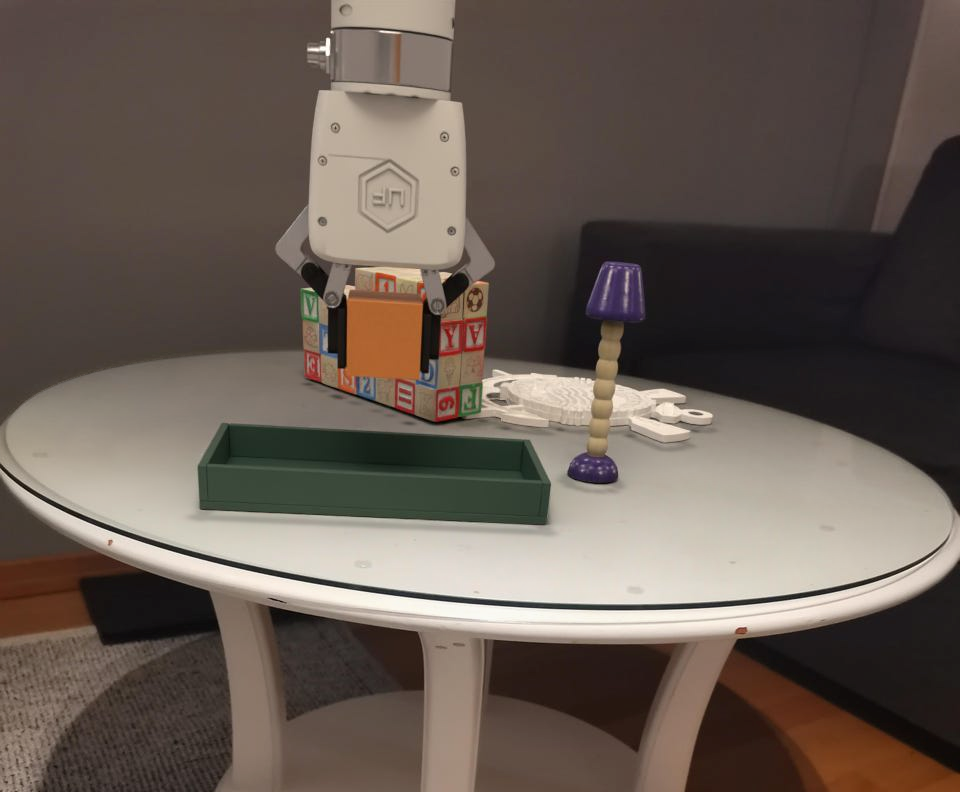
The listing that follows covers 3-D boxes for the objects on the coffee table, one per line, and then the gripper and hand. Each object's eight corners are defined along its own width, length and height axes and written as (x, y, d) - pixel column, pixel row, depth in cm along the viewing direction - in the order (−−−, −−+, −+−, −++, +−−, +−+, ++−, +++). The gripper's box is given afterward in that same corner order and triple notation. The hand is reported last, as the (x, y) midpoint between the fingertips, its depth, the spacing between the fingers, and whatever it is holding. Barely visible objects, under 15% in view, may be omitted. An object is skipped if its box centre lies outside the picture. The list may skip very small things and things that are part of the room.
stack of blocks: (302, 378, 104) (298, 256, 99) (349, 372, 108) (347, 254, 103) (436, 422, 91) (439, 283, 85) (483, 413, 95) (490, 279, 89)
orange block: (419, 380, 67) (422, 304, 65) (346, 376, 67) (347, 299, 64) (417, 365, 72) (420, 293, 69) (348, 361, 71) (349, 289, 69)
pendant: (465, 372, 114) (466, 360, 113) (706, 399, 111) (709, 387, 110) (427, 414, 95) (428, 400, 94) (717, 449, 92) (720, 434, 91)
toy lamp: (557, 466, 83) (582, 257, 75) (606, 465, 84) (636, 260, 77) (579, 484, 79) (608, 265, 71) (631, 483, 80) (664, 268, 73)
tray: (199, 509, 67) (197, 465, 65) (223, 461, 77) (221, 422, 75) (546, 524, 70) (551, 483, 68) (526, 476, 79) (530, 439, 78)
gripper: (245, 54, 56) (254, 371, 65) (534, 80, 58) (508, 385, 67) (259, 63, 63) (266, 350, 71) (519, 86, 65) (496, 363, 73)
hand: (383, 364), depth 69 cm, fingers closed on orange block, 5 cm apart
